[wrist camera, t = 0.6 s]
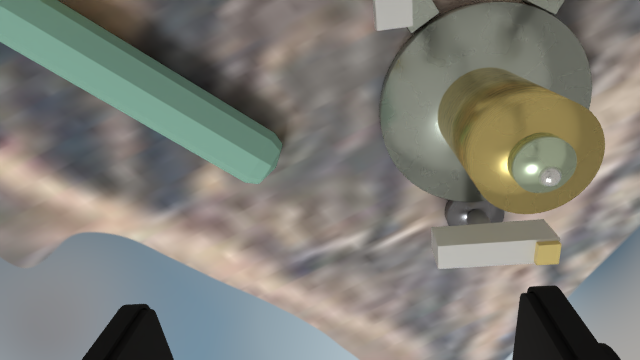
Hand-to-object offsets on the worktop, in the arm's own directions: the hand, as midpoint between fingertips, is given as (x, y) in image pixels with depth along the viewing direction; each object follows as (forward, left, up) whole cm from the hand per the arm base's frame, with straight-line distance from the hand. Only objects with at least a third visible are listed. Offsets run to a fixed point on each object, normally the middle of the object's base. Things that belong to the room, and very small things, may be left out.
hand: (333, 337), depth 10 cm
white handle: (+12, +11, -24) cm, 29 cm away
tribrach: (+2, +11, -26) cm, 28 cm away
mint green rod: (-3, -16, -26) cm, 31 cm away
